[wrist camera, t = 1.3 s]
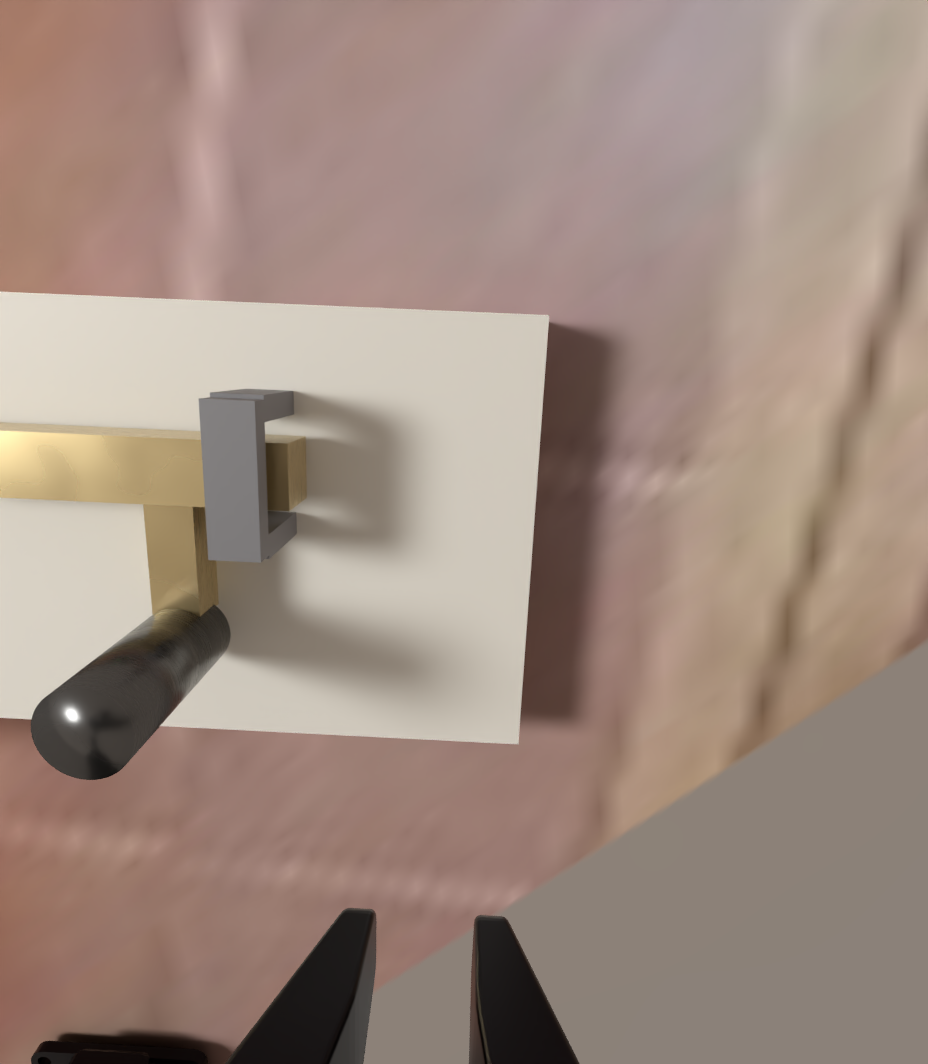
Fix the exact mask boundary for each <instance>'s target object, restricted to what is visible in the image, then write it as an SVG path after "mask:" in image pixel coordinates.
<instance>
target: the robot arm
mask: <svg viewBox="0 0 928 1064" xmlns="http://www.w3.org/2000/svg"><path fill="white" fill-rule="evenodd" d="M375 968H376V913H375V912H374V911H373V910H372V909H358V908H347V909H345V910H343V911H342V912H341V914H340V915H339V916H338V917H337V919H336V920H335V921H334V923H333V924H332V925H331V927H330V928H329V929H328V930H327V932H326V933H325V934H324V936H323V937H322V938H321V940H320V941H319V942H318V943H317V945H316V946H315V947H314V949H313V950H312V951H311V953H310V954H309V955H308V956H307V958H306V959H305V960H304V962H303V963H302V964H301V966H300V967H299V968H298V969H297V971H296V972H295V973H294V975H293V976H292V977H291V979H290V980H289V981H288V982H287V984H286V985H285V986H284V988H283V989H282V990H281V992H280V993H279V994H278V995H277V997H276V998H275V999H274V1001H273V1002H272V1003H271V1005H270V1006H269V1007H268V1008H267V1010H266V1011H265V1012H264V1014H263V1015H262V1016H261V1017H260V1019H259V1020H258V1021H257V1023H256V1024H255V1025H254V1027H253V1028H252V1029H251V1030H250V1032H249V1033H248V1034H247V1036H246V1037H245V1038H244V1040H243V1041H242V1042H241V1043H240V1045H239V1046H238V1047H237V1049H236V1050H235V1051H234V1053H233V1054H232V1055H231V1056H230V1058H229V1059H228V1060H227V1062H226V1063H225V1064H363V1061H364V1053H365V1046H366V1038H367V1030H368V1023H369V1016H370V1008H371V1001H372V993H373V986H374V978H375ZM469 1048H470V1049H469V1050H470V1051H469V1064H579V1062H578V1060H577V1058H576V1056H575V1054H574V1052H573V1050H572V1048H571V1046H570V1044H569V1042H568V1040H567V1038H566V1036H565V1034H564V1032H563V1030H562V1028H561V1026H560V1024H559V1022H558V1020H557V1018H556V1016H555V1014H554V1012H553V1010H552V1008H551V1006H550V1004H549V1002H548V1000H547V997H546V995H545V993H544V992H543V989H542V987H541V985H540V984H539V981H538V979H537V978H536V975H535V974H534V971H533V970H532V968H531V966H530V963H529V962H528V959H527V958H526V956H525V954H524V952H523V949H522V948H521V945H520V943H519V941H518V939H517V938H516V936H515V933H514V931H513V929H512V928H511V925H510V924H509V922H508V920H507V919H506V918H504V917H502V916H486V915H479V916H477V917H476V918H475V921H474V935H473V953H472V971H471V1006H470V1046H469ZM31 1063H32V1064H208V1060H207V1057H206V1055H205V1054H204V1053H203V1052H201V1051H199V1050H195V1049H181V1048H163V1047H146V1046H129V1045H111V1044H94V1043H77V1042H59V1041H45V1042H43V1043H41V1044H40V1045H39V1047H38V1048H37V1050H36V1051H35V1053H34V1054H33V1056H32V1058H31Z"/></svg>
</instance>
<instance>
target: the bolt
mask: <svg viewBox="0 0 928 1064" xmlns="http://www.w3.org/2000/svg"><path fill="white" fill-rule="evenodd" d="M265 448H266V476H267V504H268V510H273V511H290V510H292V509H293V508H294V507H296V506H297V505H298V504H299V503H301V502H302V501H303V500H305V499H306V498H307V477H306V436H291V435H269V434H265ZM0 498H17V499H39V500H60V501H81V502H103V503H124V504H143V510H144V521H145V533H146V545H147V556H148V568H149V580H150V591H151V603H152V616H150V617H149V618H148V619H147V620H145V621H144V622H143V623H141V624H140V625H139V626H137V627H136V628H135V629H133V630H132V631H131V632H130V633H128V634H127V635H126V636H124V637H123V638H122V639H120V640H119V641H118V642H117V643H115V644H114V645H113V646H111V647H110V648H109V649H107V650H106V651H105V652H103V653H102V654H101V655H100V656H98V657H97V658H96V659H94V660H93V661H92V662H90V663H89V664H88V665H86V666H85V667H84V668H83V669H81V670H80V671H79V672H77V673H76V674H75V675H73V676H72V677H71V678H70V679H68V680H67V681H66V682H64V683H63V684H62V685H60V686H59V687H58V688H56V689H55V690H54V691H53V692H51V693H50V694H49V695H47V696H46V697H45V698H44V699H42V700H41V702H40V703H39V704H38V705H37V707H36V708H35V710H34V713H33V715H32V720H31V733H32V738H33V741H34V744H35V746H36V748H37V750H38V751H39V753H40V754H41V755H42V757H43V758H44V759H45V760H46V761H47V762H48V763H49V764H50V765H51V766H53V767H54V768H55V769H57V770H59V771H60V772H62V773H64V774H66V775H69V776H71V777H74V778H79V779H86V780H96V779H102V778H106V777H109V776H111V775H113V774H115V773H117V772H118V771H120V770H121V769H122V768H123V767H124V766H125V765H126V764H127V763H128V762H129V760H130V759H131V758H132V757H133V756H134V755H135V754H136V753H137V751H138V750H139V749H140V748H141V747H142V746H143V745H144V743H145V742H146V741H147V740H148V739H149V738H150V737H151V736H152V734H153V733H154V732H155V731H156V730H157V729H158V728H159V727H160V725H161V724H162V723H163V722H164V721H165V720H166V719H167V717H168V716H169V715H170V714H171V713H172V712H173V711H174V710H175V708H176V707H177V706H178V705H179V704H180V703H181V702H182V701H183V699H184V698H185V697H186V696H187V695H188V694H189V693H190V691H191V690H192V689H193V688H194V687H195V686H196V685H197V684H198V682H199V681H200V680H201V679H202V678H203V677H204V676H205V675H206V673H207V672H208V671H209V670H210V669H211V668H212V667H213V665H214V664H215V663H216V662H217V661H218V660H219V659H220V658H221V656H222V655H223V654H224V653H225V651H226V650H227V648H228V646H229V643H230V636H231V633H230V627H229V623H228V621H227V619H226V617H225V615H224V614H223V613H222V611H221V610H220V609H219V608H218V607H217V605H218V604H219V600H218V583H217V565H216V560H208V546H207V530H206V513H205V497H204V480H203V464H202V447H201V431H181V430H159V429H137V428H115V427H93V426H71V425H49V424H27V423H5V422H0Z"/></svg>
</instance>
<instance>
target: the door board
mask: <svg viewBox="0 0 928 1064" xmlns="http://www.w3.org/2000/svg"><path fill="white" fill-rule="evenodd" d="M548 325H549V315H531V314H507V313H484V312H461V311H437V310H414V309H391V308H367V307H344V306H321V305H297V304H274V303H250V302H227V301H204V300H180V299H157V298H134V297H110V296H87V295H64V294H40V293H17V292H0V422H5V423H27V424H49V425H71V426H93V427H115V428H137V429H159V430H181V431H201V447H202V464H203V480H204V497H205V513H206V530H207V546H208V560H216V565H217V583H218V600H219V604H218V605H217V607H218V608H219V609H220V610H221V611H222V613H223V614H224V615H225V617H226V619H227V621H228V623H229V627H230V633H231V636H230V643H229V646H228V648H227V650H226V651H225V653H224V654H223V655H222V656H221V658H220V659H219V660H218V661H217V662H216V663H215V664H214V665H213V667H212V668H211V669H210V670H209V671H208V672H207V673H206V675H205V676H204V677H203V678H202V679H201V680H200V681H199V682H198V684H197V685H196V686H195V687H194V688H193V689H192V690H191V691H190V693H189V694H188V695H187V696H186V697H185V698H184V699H183V701H182V702H181V703H180V704H179V705H178V706H177V707H176V708H175V710H174V711H173V712H172V713H171V714H170V715H169V716H168V717H167V719H166V720H165V721H164V722H163V723H162V724H161V725H160V726H171V727H191V728H210V729H230V730H249V731H269V732H288V733H308V734H327V735H347V736H366V737H386V738H405V739H425V740H444V741H464V742H483V743H503V744H518V741H519V727H520V713H521V700H522V686H523V672H524V658H525V644H526V630H527V616H528V602H529V589H530V575H531V561H532V547H533V533H534V519H535V505H536V492H537V478H538V464H539V450H540V436H541V422H542V408H543V394H544V381H545V367H546V353H547V339H548ZM265 434H269V435H291V436H306V477H307V498H306V499H305V500H303V501H302V502H301V503H299V504H298V505H297V506H296V507H294V508H293V509H292V510H290V511H273V510H268V504H267V476H266V448H265ZM150 616H152V603H151V591H150V580H149V568H148V556H147V545H146V533H145V521H144V510H143V504H124V503H103V502H81V501H60V500H39V499H17V498H0V718H15V719H32V715H33V713H34V710H35V708H36V707H37V705H38V704H39V703H40V702H41V700H42V699H44V698H45V697H46V696H47V695H49V694H50V693H51V692H53V691H54V690H55V689H56V688H58V687H59V686H60V685H62V684H63V683H64V682H66V681H67V680H68V679H70V678H71V677H72V676H73V675H75V674H76V673H77V672H79V671H80V670H81V669H83V668H84V667H85V666H86V665H88V664H89V663H90V662H92V661H93V660H94V659H96V658H97V657H98V656H100V655H101V654H102V653H103V652H105V651H106V650H107V649H109V648H110V647H111V646H113V645H114V644H115V643H117V642H118V641H119V640H120V639H122V638H123V637H124V636H126V635H127V634H128V633H130V632H131V631H132V630H133V629H135V628H136V627H137V626H139V625H140V624H141V623H143V622H144V621H145V620H147V619H148V618H149V617H150Z"/></svg>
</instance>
